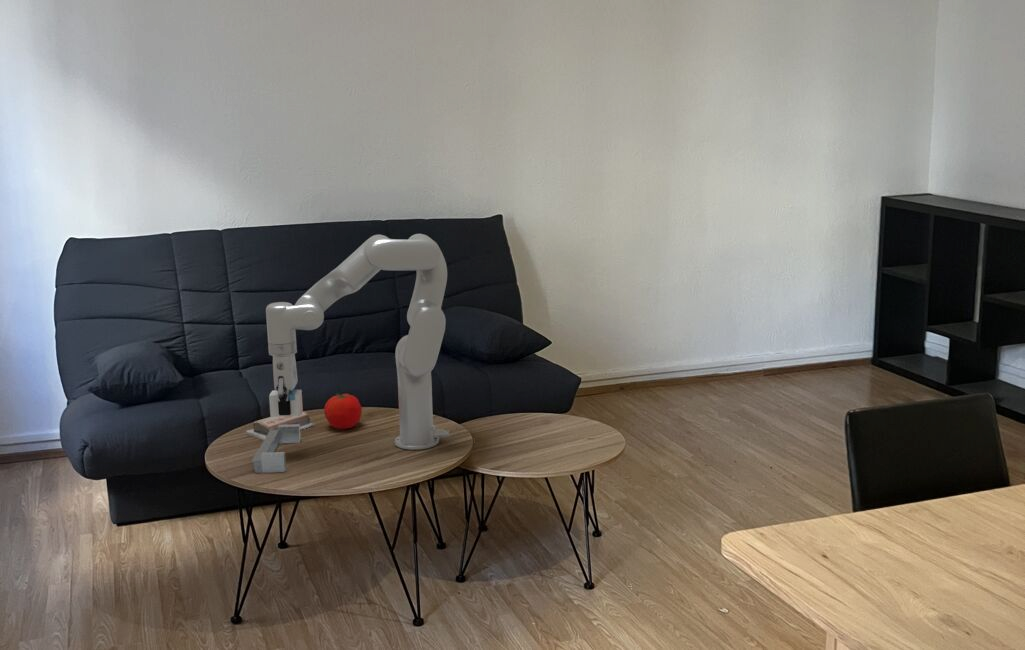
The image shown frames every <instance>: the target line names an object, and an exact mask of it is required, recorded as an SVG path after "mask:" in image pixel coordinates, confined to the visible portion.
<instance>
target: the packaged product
mask: <svg viewBox="0 0 1025 650" xmlns="http://www.w3.org/2000/svg"><path fill="white" fill-rule="evenodd" d="M292 424H300V430H301V431H303V430H302V429H304V430H306V428H307V429H310V428H312V427H311V426H313V427H315V425H316V424H315V423H312V422H311V418H310V416H309V413H307V411H302V413H301V415H300V416H275V417H270V416H269V417H266V418H263V419H259V420H255V421H254V422H253V423H252V425H253V428H251V429H248V430H246V431H245V433H246V435H247V436H249V435H250V436H249V437H252V436H253V438H255V439H259V440H262V441H264V439H265V438H266V436H267V435H268V433H269V431H270V430H278V426H279V425H292ZM309 427H310V428H309Z"/></svg>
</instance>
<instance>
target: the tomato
mask: <svg viewBox="0 0 1025 650" xmlns="http://www.w3.org/2000/svg"><path fill="white" fill-rule="evenodd" d="M335 394H336V395H334V396H332V397H331V398H329V399H328V400H327V401H326V403H325V405H324V410H323V412H324V413H323V414H324V417H325V418H326V420H327V422H328V424H329V425H330V426H331V427H333V428H334V429H338V430H345V429H346V430H347V429H350V428H353V427H354V426H356V425H357V424H358V423H359V421H360V420H361V417H362V412H363V411H362V406H361V404H360V401H359V399H358V398H357V397H355V395H351V394H350V392H348V393H343V394H339V393H336V392H335Z"/></svg>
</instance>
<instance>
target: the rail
mask: <svg viewBox="0 0 1025 650" xmlns="http://www.w3.org/2000/svg"><path fill="white" fill-rule="evenodd" d="M301 437H302V436H301V431H300V424H292V425H279V426H278V430H270V431H269V433H268V435H267V436H266V438H265V439H264V440H262V443H261V444H260V446H259V447H258V449H257V451H256V453H255V454H254V456H253V458H252V459H251V463H253V465H254V473H255V474H264V473H265V474H266V473H268V474H270V473H273V474H274V473H286V471H287V461H286V460H287V459H286V452H285V451H276V450H277V447H278V445H279V443H280V444H300V443H301V441H302V438H301Z"/></svg>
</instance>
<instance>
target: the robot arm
mask: <svg viewBox="0 0 1025 650" xmlns="http://www.w3.org/2000/svg"><path fill="white" fill-rule="evenodd" d="M447 266H448V265H447V262H446V259H445V257H444V255H443V251H442V250H441V248H440V247H439V245H438V243H437V242H436V241H435V240H433V239H432V238H431V237H429V236H428V235H427V234H423V233H415V234H413V235H411V236H410V237H409V238H408V239H401V238H399V239H398V238H397V239H394V238H389V237H388V236H387V235H383V234H374V235H372V236H370V237H369V238H368V239H366V240H365V241H364V242H363V243H362V244H361V245H360V246H359V247H358V248H356V249H355V250H354V252H352V253H351V254H350V255H349V256H347V258H346V259H344V260H343V261H342V262H341V263H340V264H339V265H338V266H337V267H336V268H334V269H333V270H331V271H330V272H329V273H328V274H326V275H325V276H323V277H322V278H321V279H319V280H318V281H317V282H315V284H313V285H312V287H310V288H308V290H307V291H306V292H305V293H303V295H301V297H299V298H298V300H297V301H296V302H295V304H294V305H293V304H292V303H290V302H286V301H278V302H271V303H268V305H267V306H266V307H265V316H266V317H265V318H266V329H267V331H266V332H267V344H268V345H267V346H268V347H267V348H268V355H269V356H272V371H273V374H272V375H273V385H274V387H273V388H274V390H276V391H278V409H279V415H290V414H291V407H290V401H289V390H290V391H292V390H295V387H296V386H297V384H298V383H299V382H298V370H297V361H296V354H297V353H298V349H297V348H298V347H297V334H296V330H299V331H301V330H303V331H313V330H316V329H318V328H319V327H321V325H322V324H323V323H324V319H325V314H324V313H325V311H326V310H327V309H328V308H330V307H331V306H333V304H334V303H335V302H337V301H338V300H340V299H341V298H343V297H345V296H348V295H352V294H354V293H356V292H359V290H360V289H362V288H363V286H365V285H366V284H367V283H368V282H369V281H370V280H371V279H372V278H373V277H375V275H377V273H379V272H380V271H381V270H382V271H394V272H395V271H416V278H415V283H414V288H413V292H412V297H411V299H410V302H409V307H408V310H407V312H406V313H407V314H406V320H407V323H408V325H409V330H408V334H406V335H404V336H402V337H401V339H399V341H398V342H397V344H396V347H395V356H394V358H395V365H396V373H397V374H396V375H397V392H398V393H397V394H398V396H397V397H398V399H397V400H398V415H399V417H398V418H399V421H398V422H399V436H397V437H395V439H394V444H395V446H396V447H398V448H400V449H403V450H413V451H414V450H415V451H416V450H417V451H418V450H425V449H431V448H433V447H436V446H437V445H438V444H439V443H440V438H449V437H450V430H446V429H445V428H441V429H438V428H435V426H436V425H435V423H434V418H433V417H434V416H433V388H432V387H433V386H432V385H433V383H432V371H433V369H434V368H435V366H436V364H437V360H438V357H439V353H440V351H441V347H442V343H443V339H444V334H445V331H446V321H447V320H446V315H445V313H444V311H443V309H442V306H443V301H444V296H445V291H446V286H447V281H448V267H447ZM284 392H286V394H284Z"/></svg>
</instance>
